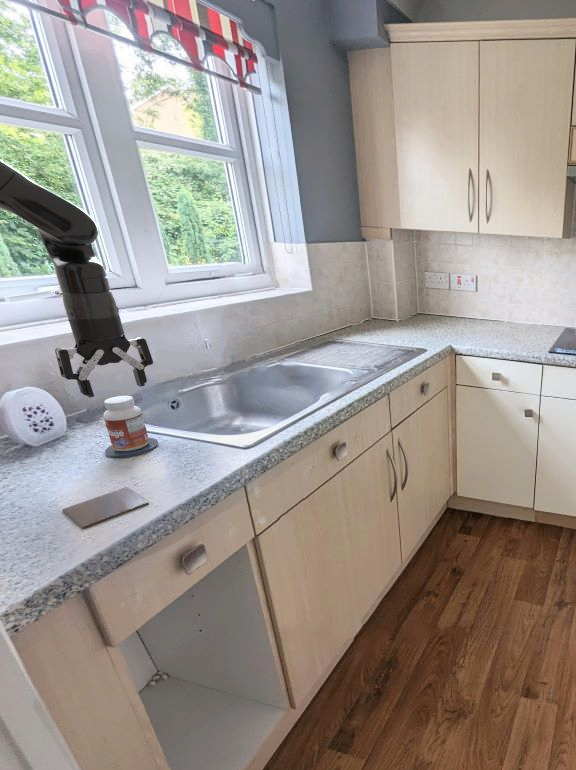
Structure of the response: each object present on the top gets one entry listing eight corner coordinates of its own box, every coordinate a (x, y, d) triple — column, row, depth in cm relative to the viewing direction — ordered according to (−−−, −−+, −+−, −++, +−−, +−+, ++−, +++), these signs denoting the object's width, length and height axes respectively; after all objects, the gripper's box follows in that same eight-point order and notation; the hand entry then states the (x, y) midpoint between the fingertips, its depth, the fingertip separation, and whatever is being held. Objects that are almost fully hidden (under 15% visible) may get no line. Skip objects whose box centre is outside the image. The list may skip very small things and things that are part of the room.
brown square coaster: (82, 529, 74) (82, 527, 74) (62, 511, 78) (61, 509, 78) (149, 504, 81) (148, 502, 81) (127, 488, 85) (126, 486, 85)
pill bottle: (106, 449, 98) (91, 401, 94) (136, 438, 103) (124, 392, 100) (126, 454, 96) (112, 406, 92) (156, 442, 102) (144, 396, 98)
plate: (115, 462, 94) (114, 459, 94) (98, 450, 99) (97, 448, 98) (166, 446, 102) (165, 444, 101) (147, 436, 106) (147, 434, 106)
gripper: (129, 307, 97) (148, 379, 103) (37, 316, 86) (64, 396, 91) (145, 312, 94) (164, 385, 99) (51, 321, 82) (78, 404, 88)
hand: (116, 390), depth 95 cm, fingers open, 8 cm apart
